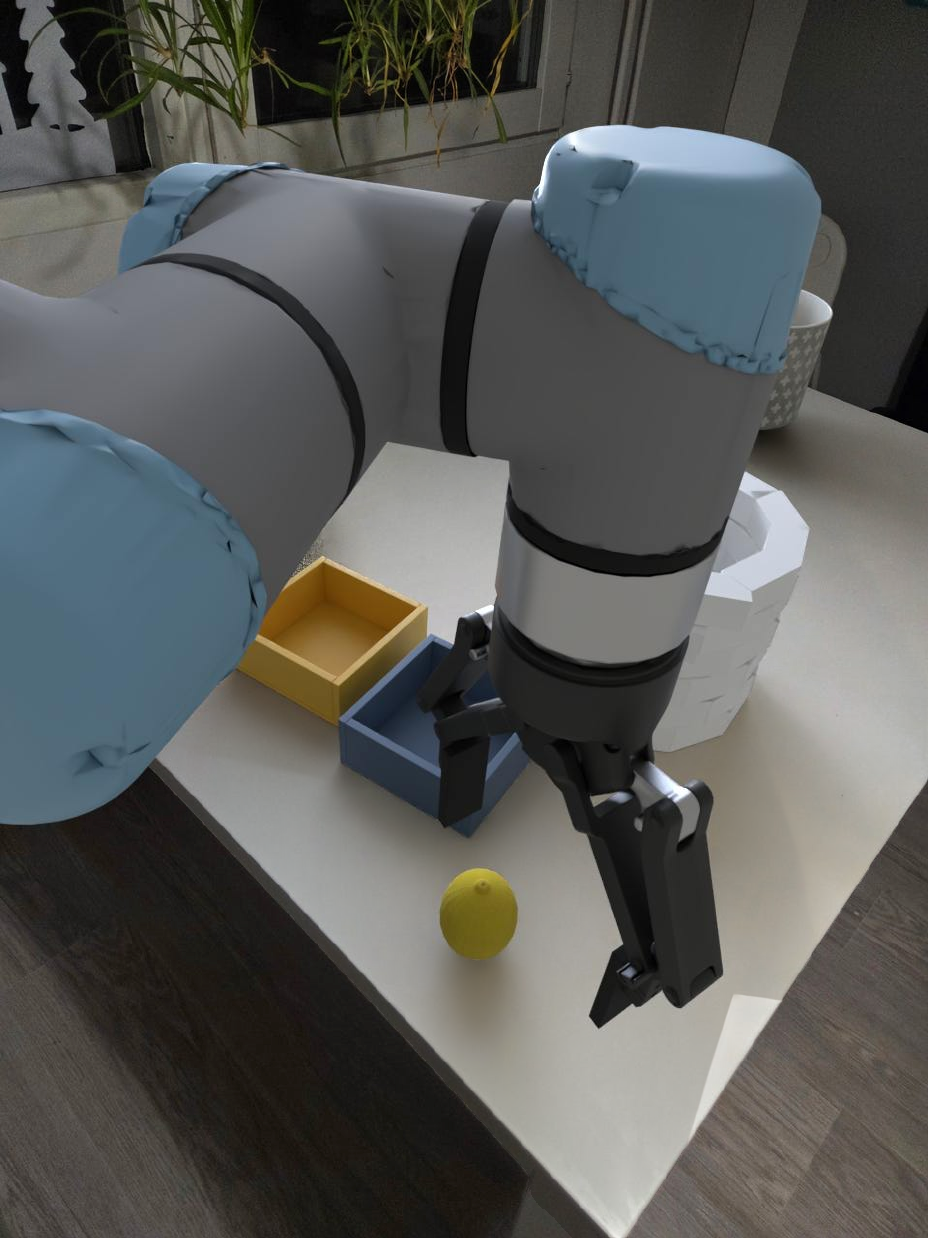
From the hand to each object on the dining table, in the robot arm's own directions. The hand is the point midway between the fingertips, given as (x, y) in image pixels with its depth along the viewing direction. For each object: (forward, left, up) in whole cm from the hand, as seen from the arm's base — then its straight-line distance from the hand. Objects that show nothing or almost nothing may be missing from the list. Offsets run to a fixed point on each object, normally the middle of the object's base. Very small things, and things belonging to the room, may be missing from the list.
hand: (529, 902), depth 45 cm
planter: (-19, +99, -17) cm, 102 cm away
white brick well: (-8, +38, -17) cm, 43 cm away
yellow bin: (-33, +21, -17) cm, 43 cm away
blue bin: (-17, +18, -17) cm, 30 cm away
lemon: (-5, +4, -17) cm, 18 cm away
